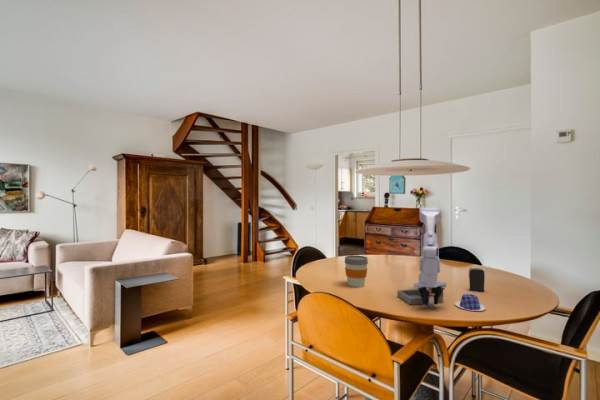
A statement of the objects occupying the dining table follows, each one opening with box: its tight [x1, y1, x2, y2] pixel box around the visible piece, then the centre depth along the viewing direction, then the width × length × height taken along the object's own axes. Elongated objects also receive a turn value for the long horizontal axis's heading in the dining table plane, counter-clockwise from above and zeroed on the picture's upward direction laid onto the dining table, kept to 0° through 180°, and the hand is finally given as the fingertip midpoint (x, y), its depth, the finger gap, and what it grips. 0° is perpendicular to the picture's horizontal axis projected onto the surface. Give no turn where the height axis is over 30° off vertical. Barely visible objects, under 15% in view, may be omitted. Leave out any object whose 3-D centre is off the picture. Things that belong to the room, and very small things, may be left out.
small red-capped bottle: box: [425, 291, 436, 310], centre depth 132 cm, size 4×4×7 cm
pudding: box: [454, 293, 486, 312], centre depth 133 cm, size 12×12×5 cm
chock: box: [429, 287, 446, 303], centre depth 140 cm, size 5×6×7 cm
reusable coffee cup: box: [344, 255, 369, 288], centre depth 166 cm, size 13×13×15 cm
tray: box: [396, 288, 424, 306], centre depth 142 cm, size 12×11×3 cm
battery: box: [468, 267, 486, 292], centre depth 156 cm, size 7×4×11 cm, turn 70°
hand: (430, 304), depth 132 cm, fingers closed on small red-capped bottle, 4 cm apart
